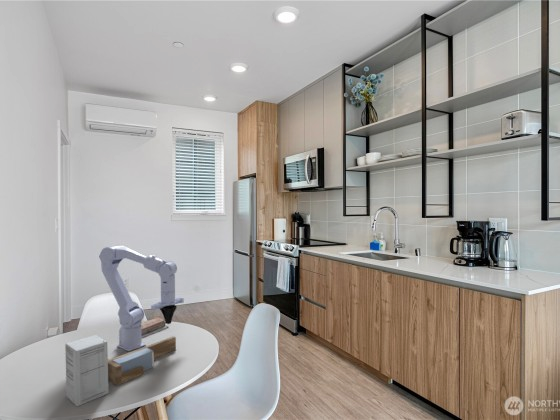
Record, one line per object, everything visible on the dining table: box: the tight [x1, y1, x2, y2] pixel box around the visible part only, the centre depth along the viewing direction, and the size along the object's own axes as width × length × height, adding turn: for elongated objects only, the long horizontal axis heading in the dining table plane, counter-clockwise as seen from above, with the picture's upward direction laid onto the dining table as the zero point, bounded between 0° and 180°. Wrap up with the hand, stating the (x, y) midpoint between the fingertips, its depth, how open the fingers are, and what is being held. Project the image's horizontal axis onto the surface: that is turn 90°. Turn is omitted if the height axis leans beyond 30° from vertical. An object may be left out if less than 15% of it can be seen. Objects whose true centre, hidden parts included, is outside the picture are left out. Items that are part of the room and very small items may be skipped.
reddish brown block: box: [141, 317, 169, 339], centre depth 161 cm, size 18×5×10 cm
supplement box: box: [64, 334, 109, 407], centre depth 106 cm, size 10×9×17 cm
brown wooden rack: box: [108, 336, 177, 386], centre depth 127 cm, size 10×30×6 cm, turn 144°
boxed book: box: [113, 348, 155, 374], centre depth 121 cm, size 4×13×6 cm, turn 144°
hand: (168, 323), depth 142 cm, fingers closed
